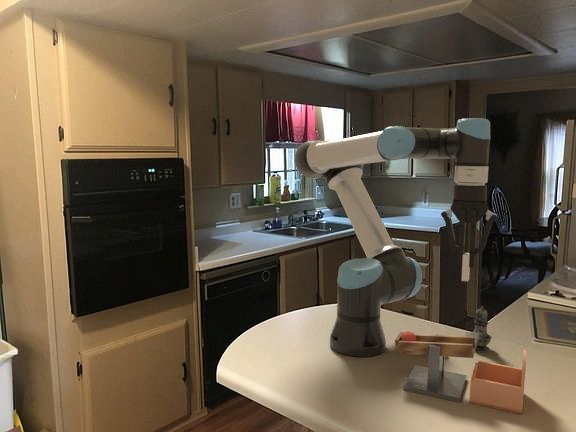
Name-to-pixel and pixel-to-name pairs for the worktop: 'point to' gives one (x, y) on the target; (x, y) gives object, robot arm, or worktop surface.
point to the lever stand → (435, 378)
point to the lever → (440, 344)
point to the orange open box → (498, 386)
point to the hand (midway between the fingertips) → (465, 279)
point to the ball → (408, 336)
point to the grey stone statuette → (482, 330)
